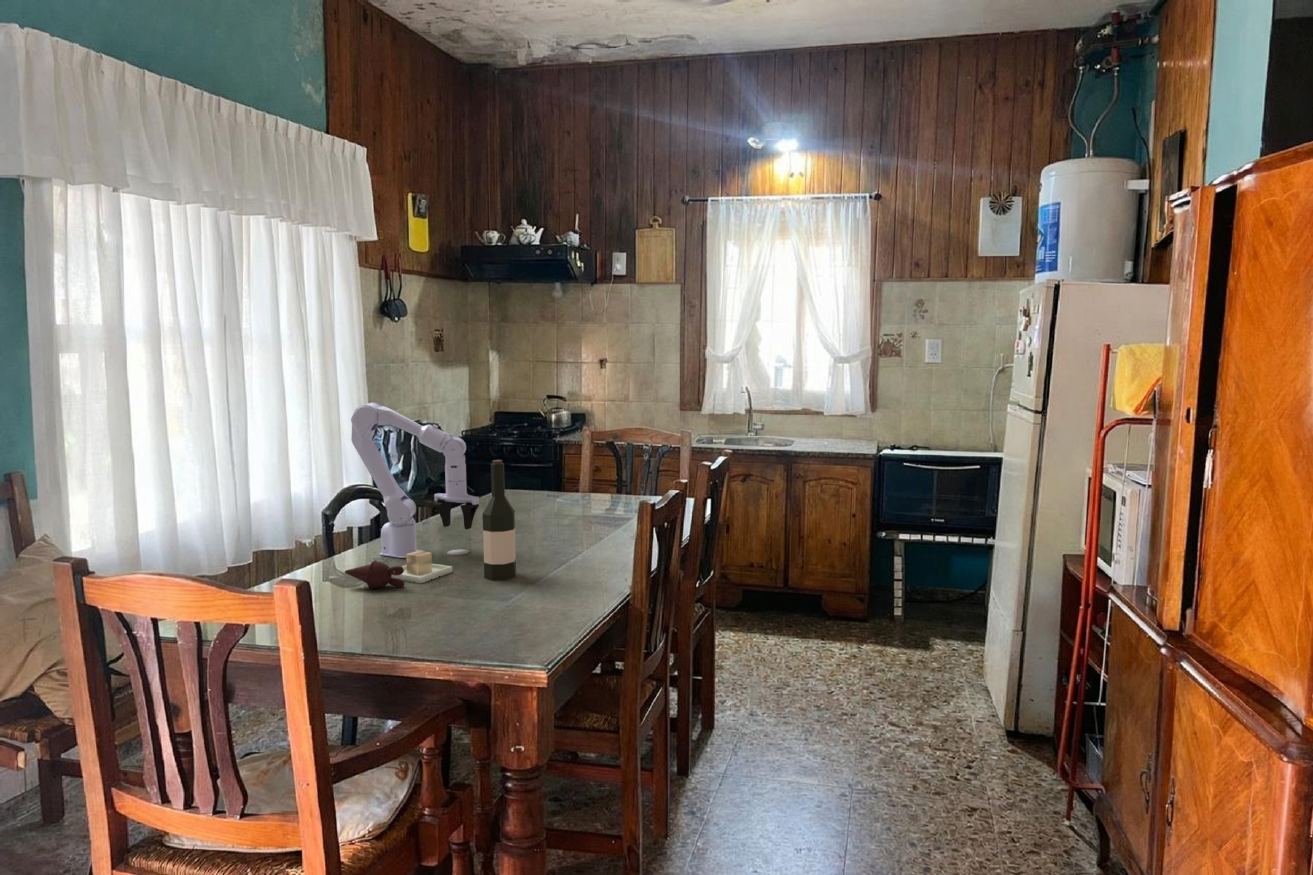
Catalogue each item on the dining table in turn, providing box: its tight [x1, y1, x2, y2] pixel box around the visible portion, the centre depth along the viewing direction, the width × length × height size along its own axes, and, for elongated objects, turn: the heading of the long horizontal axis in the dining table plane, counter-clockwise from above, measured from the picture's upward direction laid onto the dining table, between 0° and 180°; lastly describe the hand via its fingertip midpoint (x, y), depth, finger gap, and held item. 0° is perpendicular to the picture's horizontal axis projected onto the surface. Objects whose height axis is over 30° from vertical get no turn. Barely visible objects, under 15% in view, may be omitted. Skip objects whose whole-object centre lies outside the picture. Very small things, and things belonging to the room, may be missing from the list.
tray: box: [391, 563, 453, 584], centre depth 223 cm, size 12×12×2 cm
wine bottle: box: [482, 459, 517, 582], centre depth 219 cm, size 8×8×30 cm
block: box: [405, 550, 433, 576], centre depth 223 cm, size 4×4×5 cm
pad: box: [447, 548, 470, 556], centre depth 246 cm, size 6×6×1 cm
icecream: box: [344, 559, 405, 590], centre depth 211 cm, size 7×7×15 cm
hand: (457, 527), depth 245 cm, fingers open, 7 cm apart
